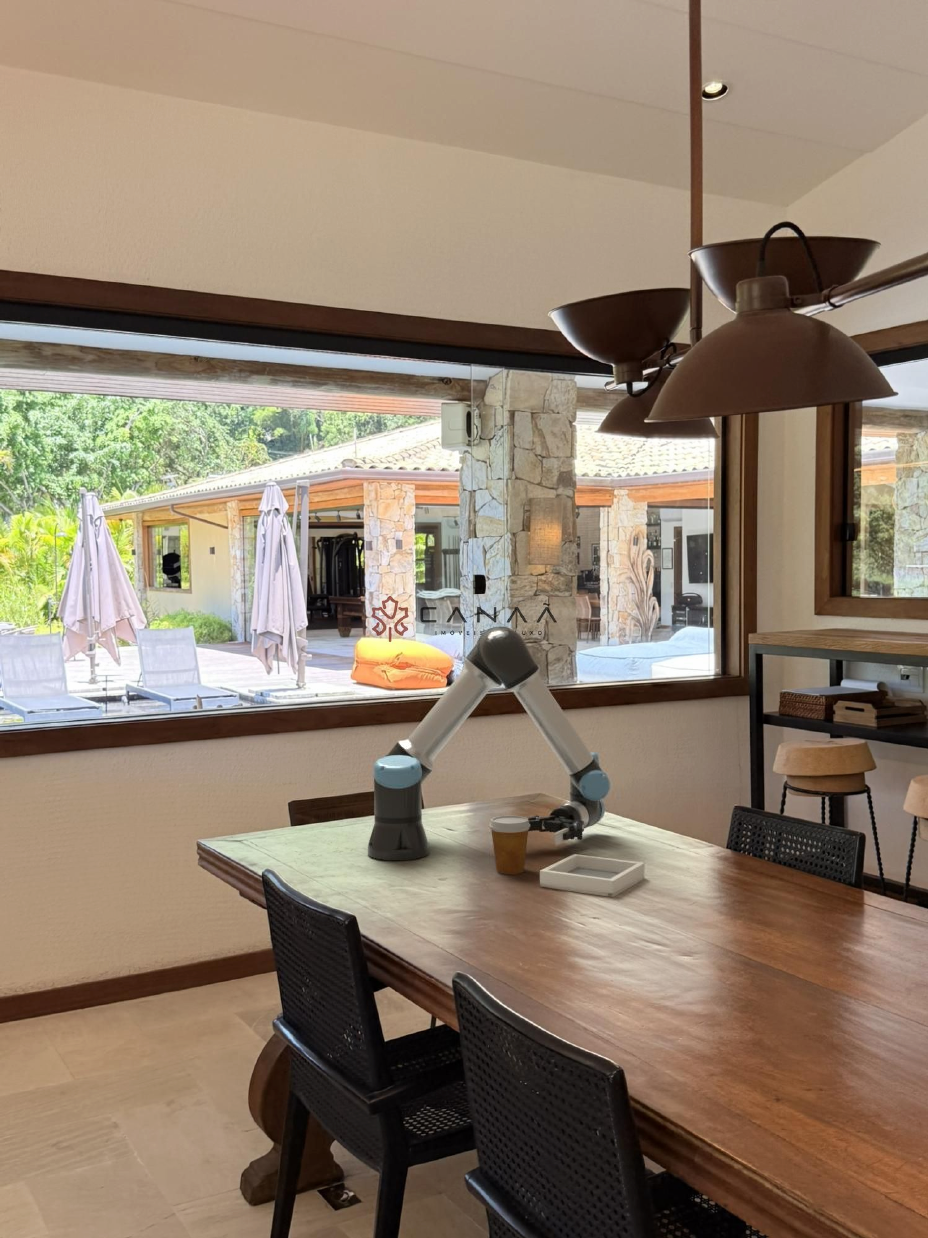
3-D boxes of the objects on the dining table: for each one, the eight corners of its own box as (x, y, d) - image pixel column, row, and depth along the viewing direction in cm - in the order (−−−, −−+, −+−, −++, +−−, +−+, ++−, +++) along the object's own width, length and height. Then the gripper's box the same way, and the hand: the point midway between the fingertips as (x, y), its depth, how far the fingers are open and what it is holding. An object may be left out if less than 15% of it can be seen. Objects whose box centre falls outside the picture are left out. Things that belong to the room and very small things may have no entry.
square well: (539, 886, 254) (539, 870, 254) (574, 869, 269) (574, 854, 269) (612, 897, 245) (612, 881, 245) (644, 878, 260) (644, 863, 260)
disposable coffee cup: (536, 868, 271) (536, 817, 270) (521, 878, 262) (521, 825, 262) (499, 864, 275) (498, 814, 274) (483, 873, 266) (482, 821, 266)
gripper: (613, 839, 287) (577, 858, 269) (524, 829, 300) (483, 846, 282) (613, 809, 287) (576, 825, 269) (524, 800, 300) (483, 815, 281)
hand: (529, 836), depth 275 cm, fingers open, 13 cm apart
